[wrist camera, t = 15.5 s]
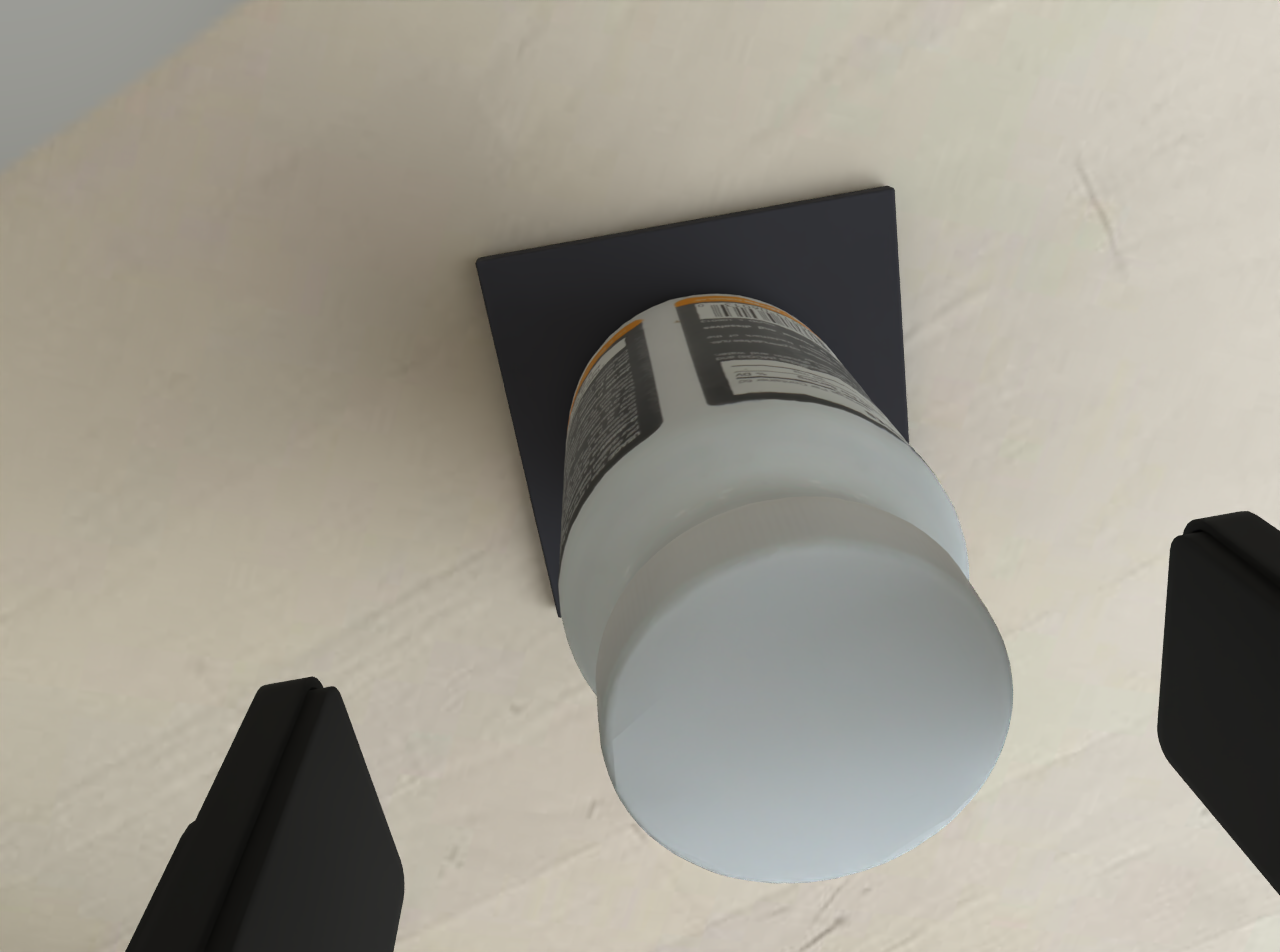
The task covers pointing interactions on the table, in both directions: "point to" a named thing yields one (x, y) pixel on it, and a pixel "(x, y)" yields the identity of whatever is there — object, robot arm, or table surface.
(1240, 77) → the table surface
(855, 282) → the mat
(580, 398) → the pill bottle
